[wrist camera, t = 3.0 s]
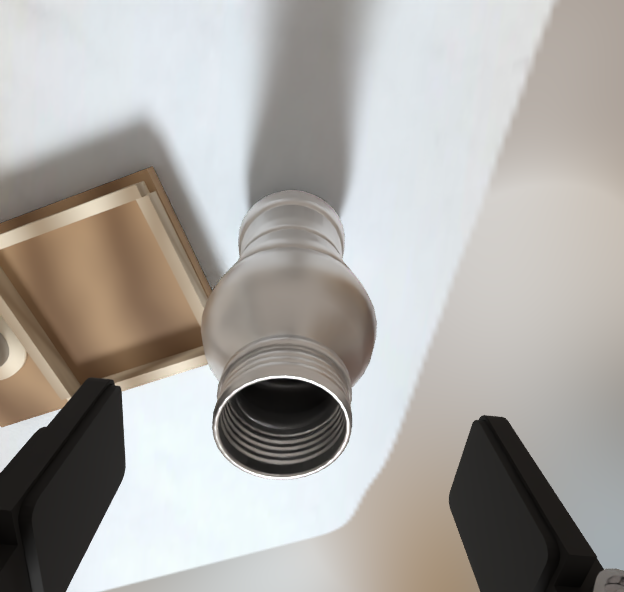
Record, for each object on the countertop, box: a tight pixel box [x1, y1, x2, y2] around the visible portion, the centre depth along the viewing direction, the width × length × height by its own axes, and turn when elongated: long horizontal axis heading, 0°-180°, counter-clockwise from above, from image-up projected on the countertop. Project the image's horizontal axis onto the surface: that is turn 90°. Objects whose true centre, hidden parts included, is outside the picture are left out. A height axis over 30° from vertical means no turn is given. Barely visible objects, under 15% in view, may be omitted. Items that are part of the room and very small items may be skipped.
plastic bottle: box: [201, 190, 377, 480], centre depth 21 cm, size 6×7×20 cm
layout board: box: [0, 166, 212, 427], centre depth 27 cm, size 20×14×11 cm
